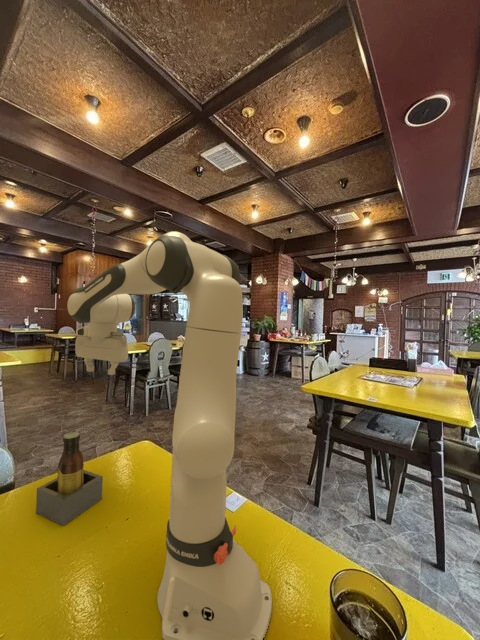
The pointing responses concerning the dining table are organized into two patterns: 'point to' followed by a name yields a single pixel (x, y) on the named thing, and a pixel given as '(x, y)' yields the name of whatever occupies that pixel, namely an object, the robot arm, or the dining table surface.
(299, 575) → the dining table surface
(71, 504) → the condiment sleeve
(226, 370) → the robot arm
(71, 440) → the sauce bottle
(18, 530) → the dining table surface
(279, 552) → the dining table surface
